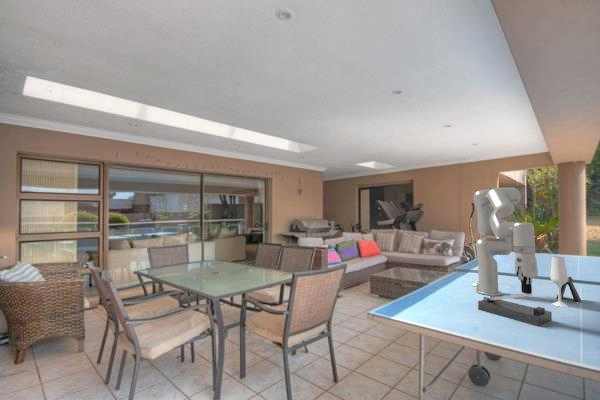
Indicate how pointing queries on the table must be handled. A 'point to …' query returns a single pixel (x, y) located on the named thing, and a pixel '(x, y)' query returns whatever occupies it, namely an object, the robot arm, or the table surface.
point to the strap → (509, 296)
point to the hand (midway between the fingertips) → (526, 292)
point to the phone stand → (572, 289)
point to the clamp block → (516, 311)
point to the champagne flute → (559, 276)
